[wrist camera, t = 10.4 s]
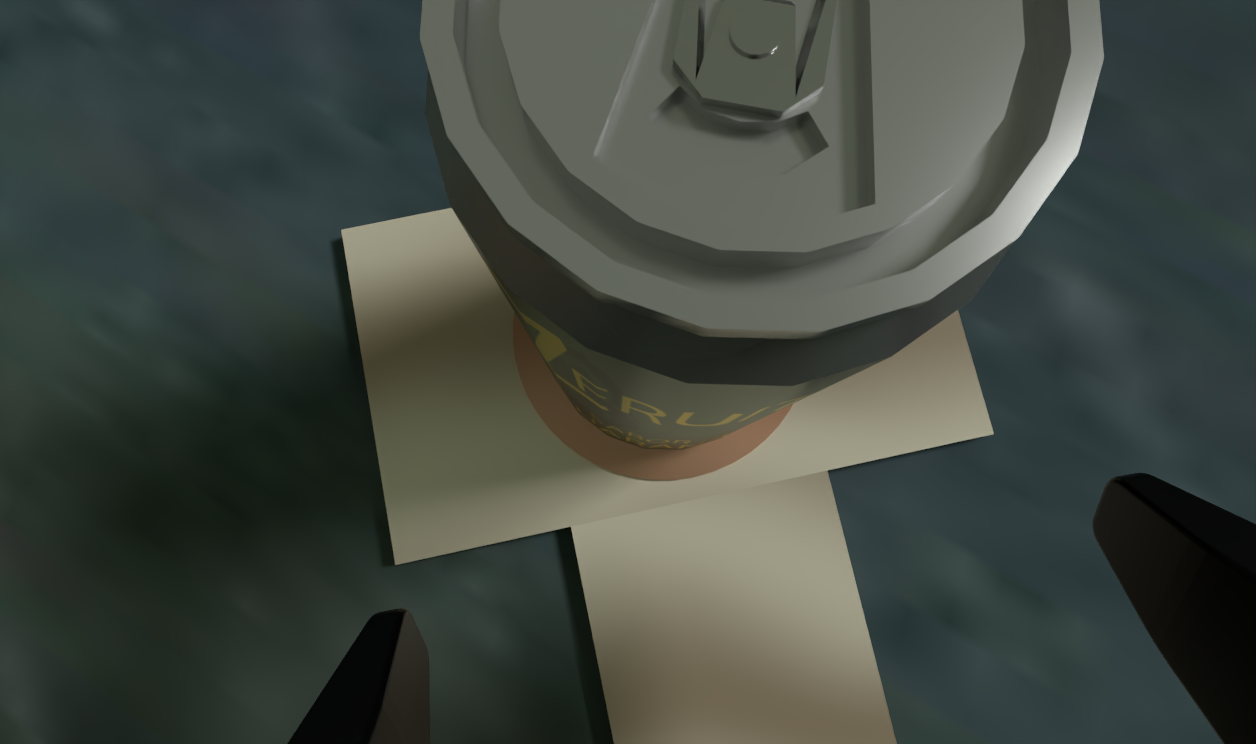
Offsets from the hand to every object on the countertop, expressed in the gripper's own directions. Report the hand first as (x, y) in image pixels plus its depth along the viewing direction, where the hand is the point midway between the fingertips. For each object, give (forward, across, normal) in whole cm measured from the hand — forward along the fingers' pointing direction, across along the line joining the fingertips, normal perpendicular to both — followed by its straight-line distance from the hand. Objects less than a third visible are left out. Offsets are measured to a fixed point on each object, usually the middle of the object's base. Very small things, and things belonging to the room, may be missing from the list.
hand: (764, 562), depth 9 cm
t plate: (+6, 0, +5) cm, 8 cm away
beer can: (+8, 0, +2) cm, 9 cm away
